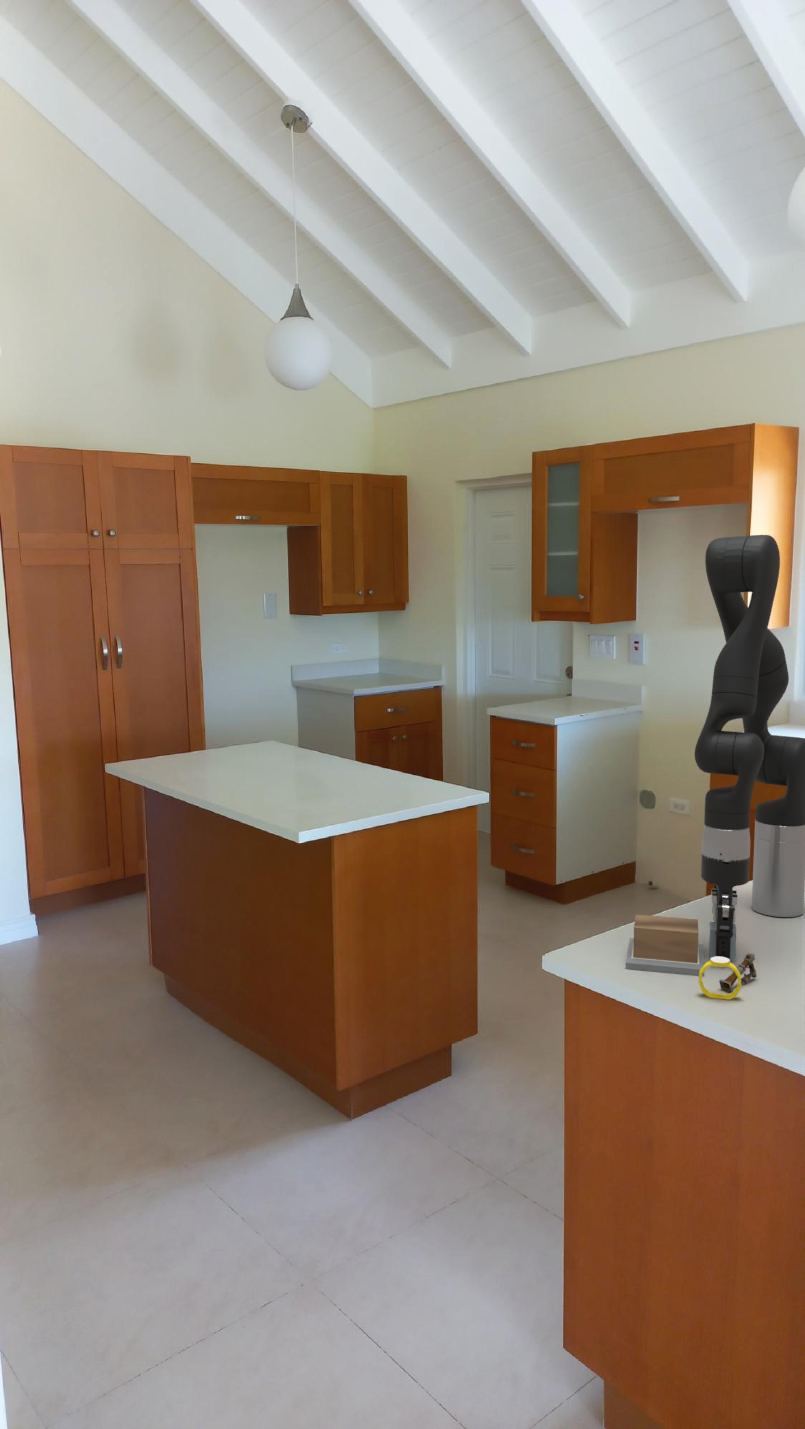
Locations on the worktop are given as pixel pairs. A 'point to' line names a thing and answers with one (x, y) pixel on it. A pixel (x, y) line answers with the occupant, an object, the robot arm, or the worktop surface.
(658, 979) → the worktop surface
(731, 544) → the robot arm
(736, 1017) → the worktop surface
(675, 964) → the build pad
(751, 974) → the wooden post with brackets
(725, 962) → the watch
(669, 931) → the walnut block
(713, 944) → the gray block
